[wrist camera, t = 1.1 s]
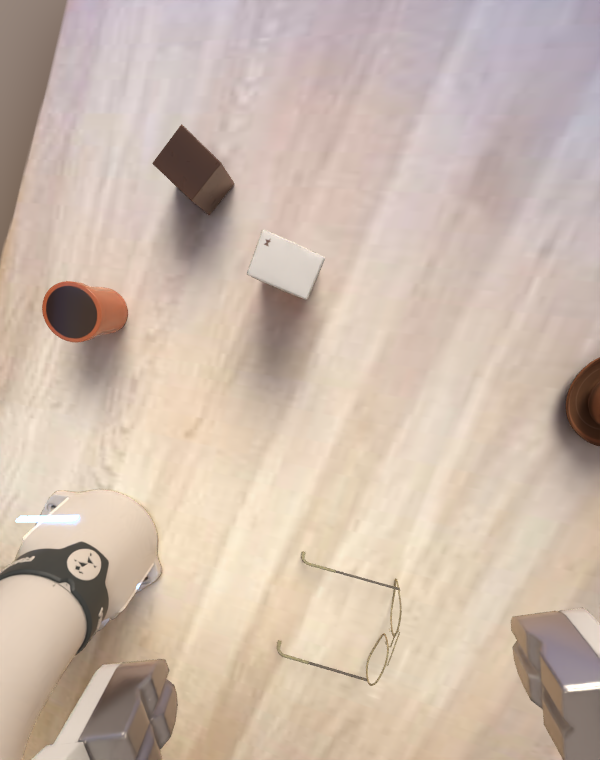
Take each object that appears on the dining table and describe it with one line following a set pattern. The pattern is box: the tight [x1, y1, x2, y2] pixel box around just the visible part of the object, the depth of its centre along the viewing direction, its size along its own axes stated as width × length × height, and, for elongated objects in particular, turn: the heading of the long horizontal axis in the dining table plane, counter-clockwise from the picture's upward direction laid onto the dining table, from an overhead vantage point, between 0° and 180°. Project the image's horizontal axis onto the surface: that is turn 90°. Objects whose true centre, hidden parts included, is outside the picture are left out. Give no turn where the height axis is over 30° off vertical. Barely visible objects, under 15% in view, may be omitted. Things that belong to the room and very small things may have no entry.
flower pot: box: [42, 281, 128, 342], centre depth 42 cm, size 6×6×7 cm
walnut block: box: [153, 125, 234, 215], centre depth 39 cm, size 5×5×6 cm
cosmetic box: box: [247, 230, 325, 300], centre depth 38 cm, size 6×4×12 cm
